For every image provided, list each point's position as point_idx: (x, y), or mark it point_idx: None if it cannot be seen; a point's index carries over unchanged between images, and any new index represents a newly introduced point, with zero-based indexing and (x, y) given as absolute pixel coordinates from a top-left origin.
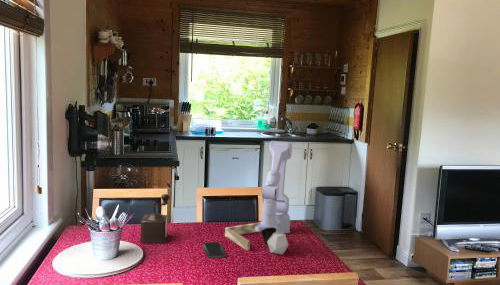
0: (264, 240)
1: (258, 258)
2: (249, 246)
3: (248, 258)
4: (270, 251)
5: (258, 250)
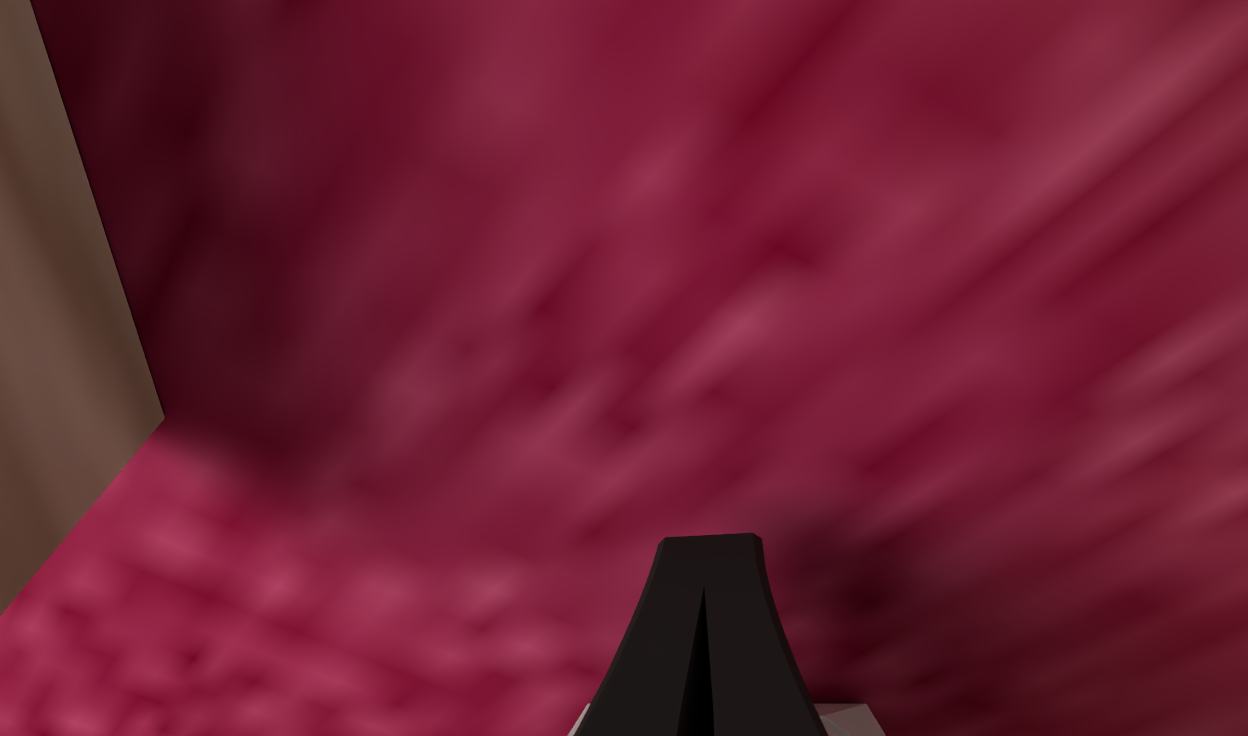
0: (635, 641)
1: (210, 732)
2: (96, 491)
3: (14, 661)
4: (571, 732)
5: (397, 519)
